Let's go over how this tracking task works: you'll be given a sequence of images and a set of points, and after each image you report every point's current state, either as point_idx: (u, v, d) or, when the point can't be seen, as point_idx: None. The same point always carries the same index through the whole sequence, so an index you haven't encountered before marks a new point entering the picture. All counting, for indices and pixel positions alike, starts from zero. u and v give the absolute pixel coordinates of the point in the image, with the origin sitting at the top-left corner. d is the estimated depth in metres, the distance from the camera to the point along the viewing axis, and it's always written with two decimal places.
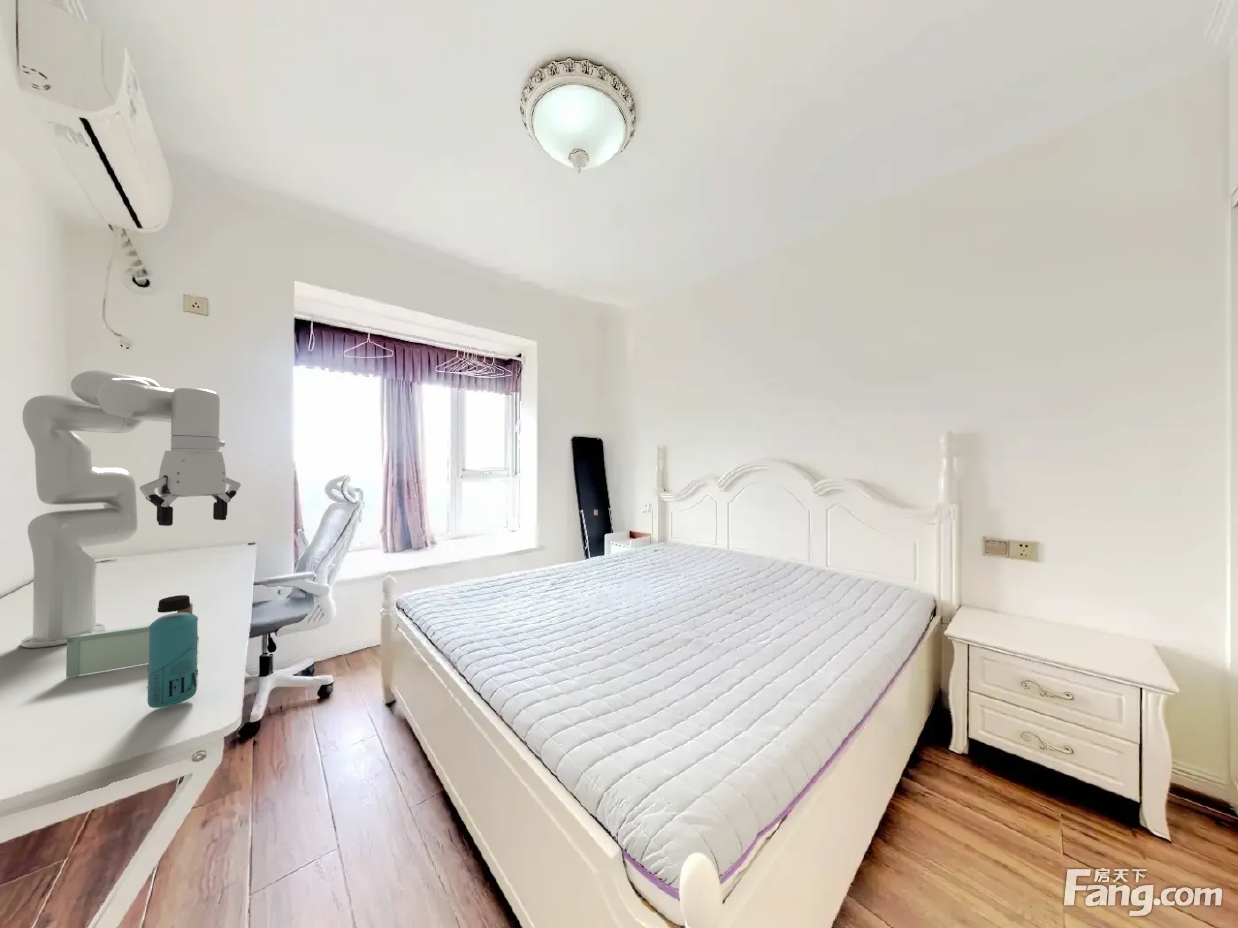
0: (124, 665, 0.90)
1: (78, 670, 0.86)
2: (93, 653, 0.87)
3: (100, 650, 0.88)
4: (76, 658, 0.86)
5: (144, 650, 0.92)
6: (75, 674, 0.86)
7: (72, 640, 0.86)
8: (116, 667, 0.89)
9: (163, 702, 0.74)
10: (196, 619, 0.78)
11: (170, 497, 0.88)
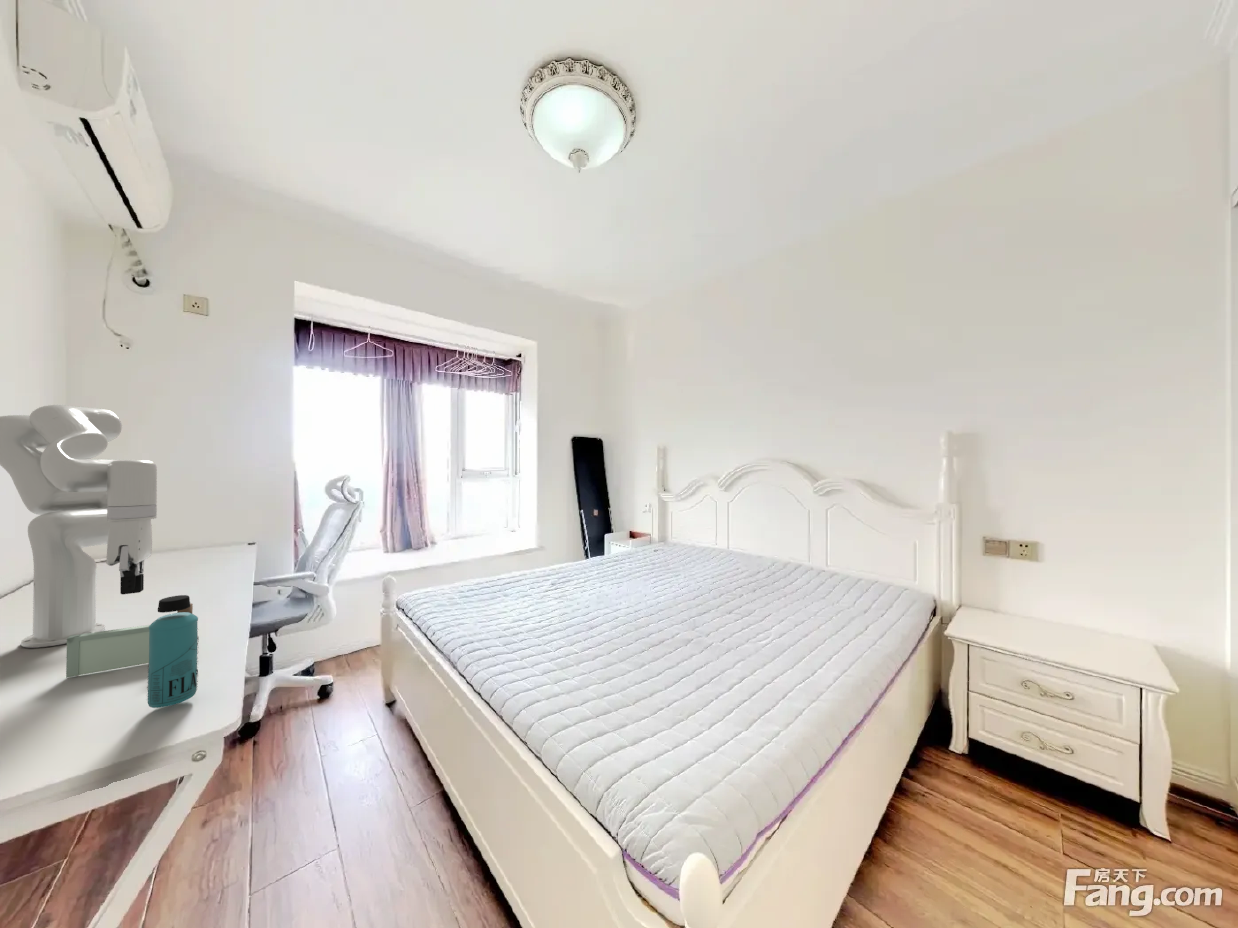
0: (124, 665, 0.90)
1: (78, 670, 0.86)
2: (93, 653, 0.87)
3: (100, 650, 0.88)
4: (76, 658, 0.86)
5: (144, 650, 0.92)
6: (75, 674, 0.86)
7: (72, 640, 0.86)
8: (116, 667, 0.89)
9: (163, 702, 0.74)
10: (196, 619, 0.78)
11: (138, 567, 0.97)
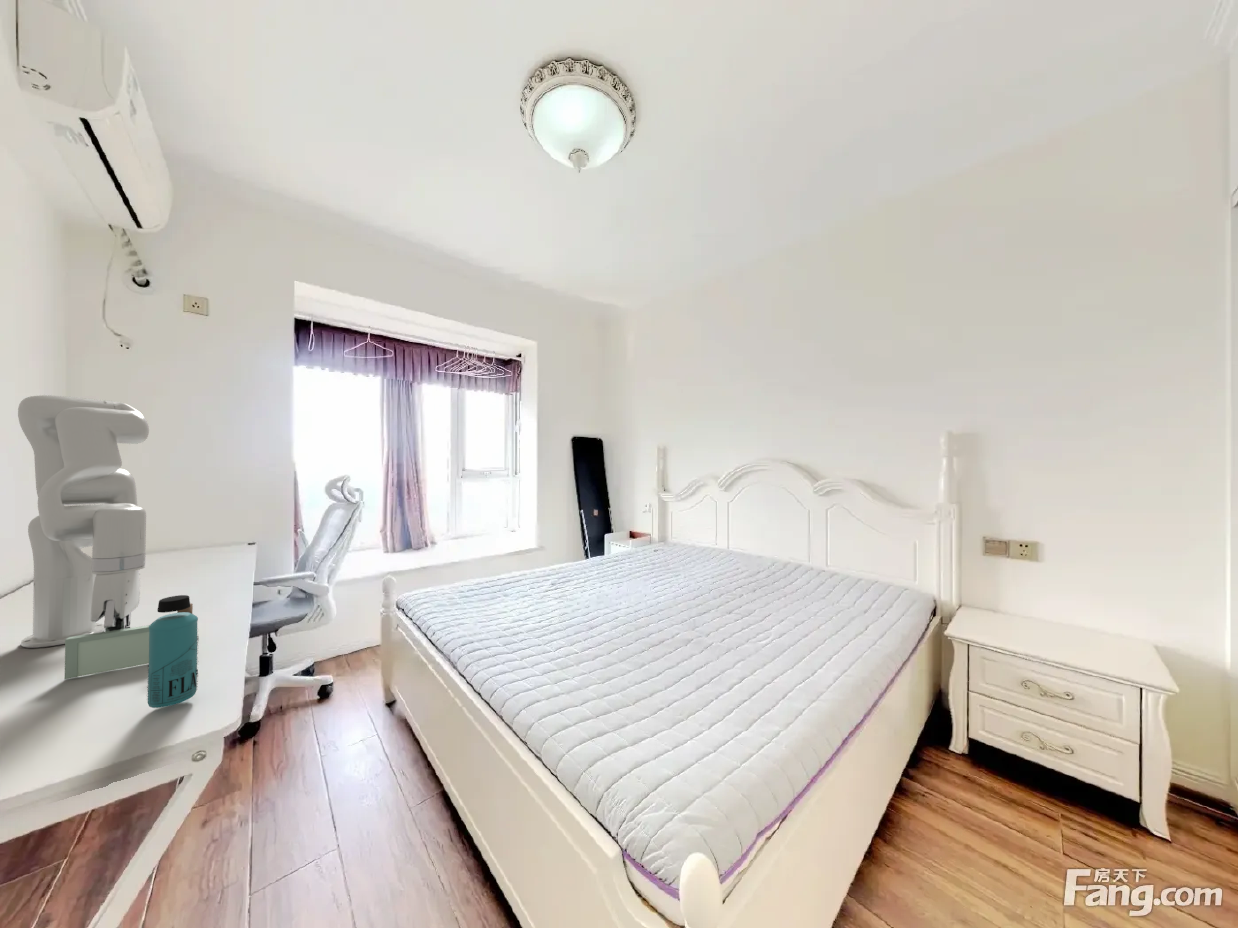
0: (123, 666, 0.90)
1: (77, 671, 0.86)
2: (92, 654, 0.87)
3: (99, 651, 0.87)
4: (75, 659, 0.85)
5: (144, 650, 0.91)
6: (74, 675, 0.85)
7: (71, 641, 0.85)
8: (115, 668, 0.89)
9: (163, 702, 0.74)
10: (196, 619, 0.78)
11: (124, 621, 0.91)
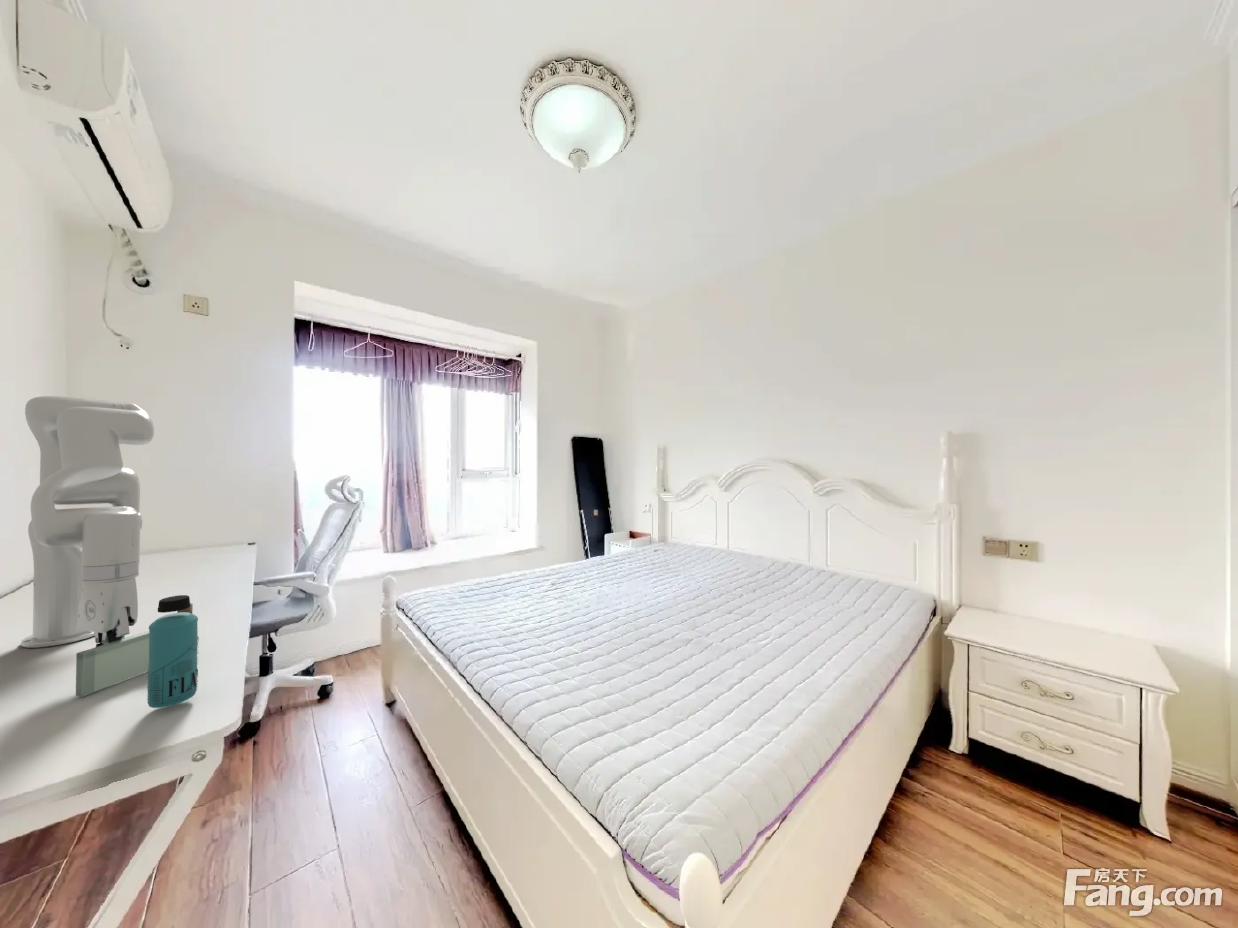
0: (135, 673, 0.87)
1: (93, 686, 0.80)
2: (107, 666, 0.82)
3: (113, 661, 0.83)
4: (92, 674, 0.80)
5: None
6: (91, 691, 0.80)
7: (88, 655, 0.79)
8: (128, 677, 0.85)
9: (163, 702, 0.74)
10: (196, 619, 0.78)
11: None
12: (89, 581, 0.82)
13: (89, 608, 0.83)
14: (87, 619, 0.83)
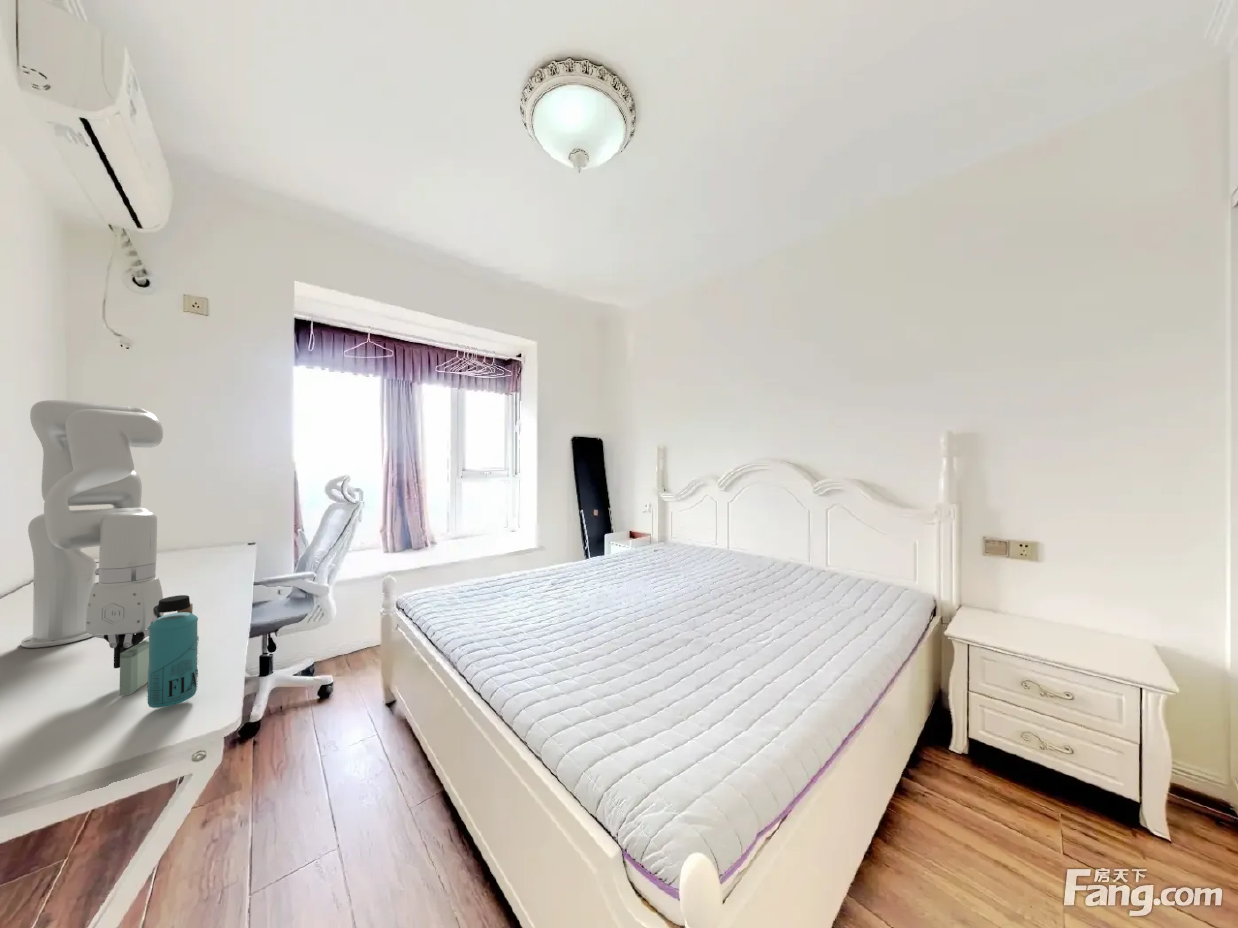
0: None
1: (136, 684, 0.81)
2: (143, 665, 0.83)
3: (147, 660, 0.84)
4: (136, 672, 0.81)
5: None
6: (135, 689, 0.81)
7: (134, 653, 0.80)
8: None
9: (163, 702, 0.74)
10: (196, 619, 0.78)
11: None
12: (118, 583, 0.81)
13: (112, 611, 0.82)
14: (109, 623, 0.81)
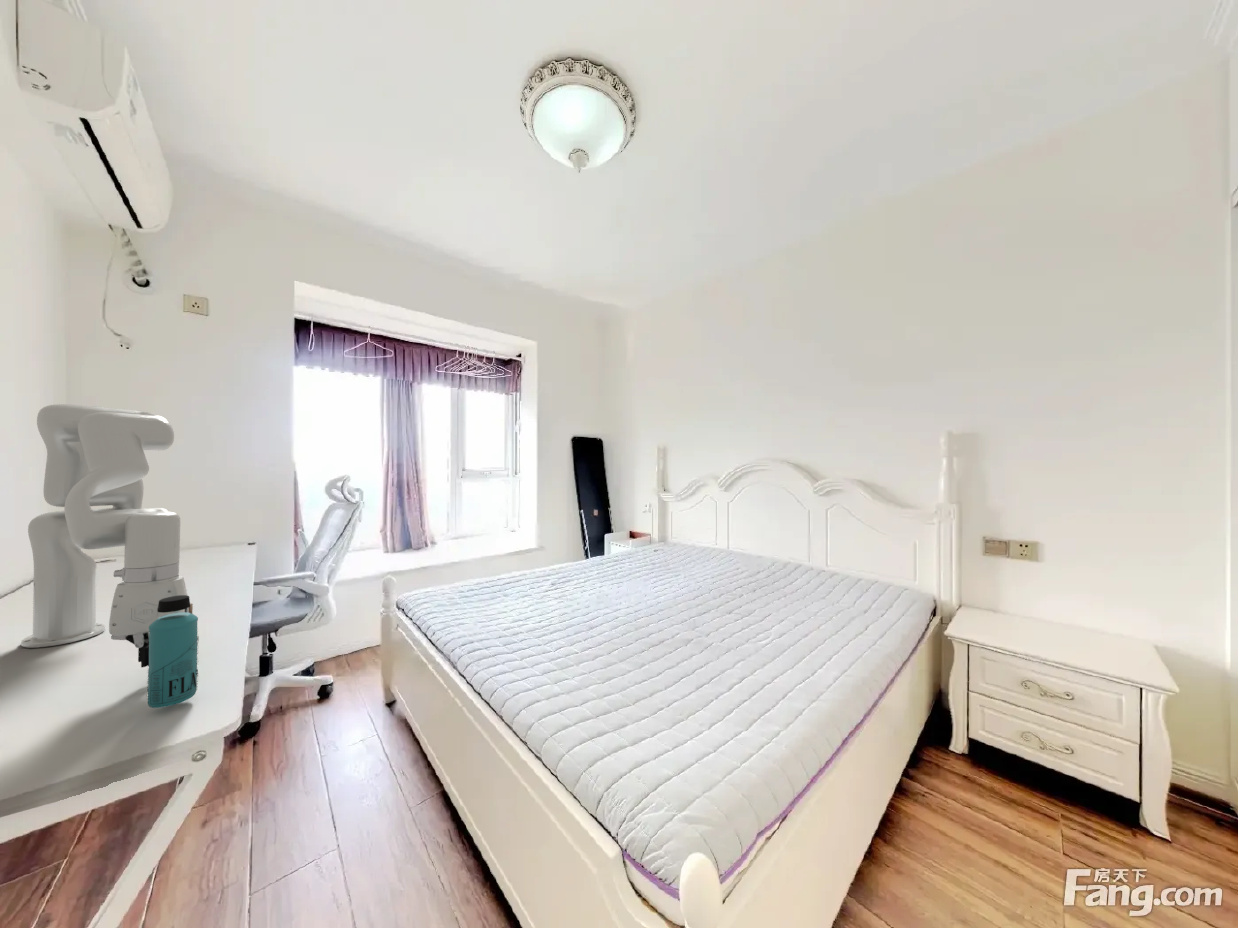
0: None
1: None
2: None
3: None
4: None
5: None
6: None
7: None
8: None
9: (163, 702, 0.74)
10: (196, 619, 0.78)
11: None
12: (153, 581, 0.83)
13: (143, 610, 0.83)
14: (140, 622, 0.82)
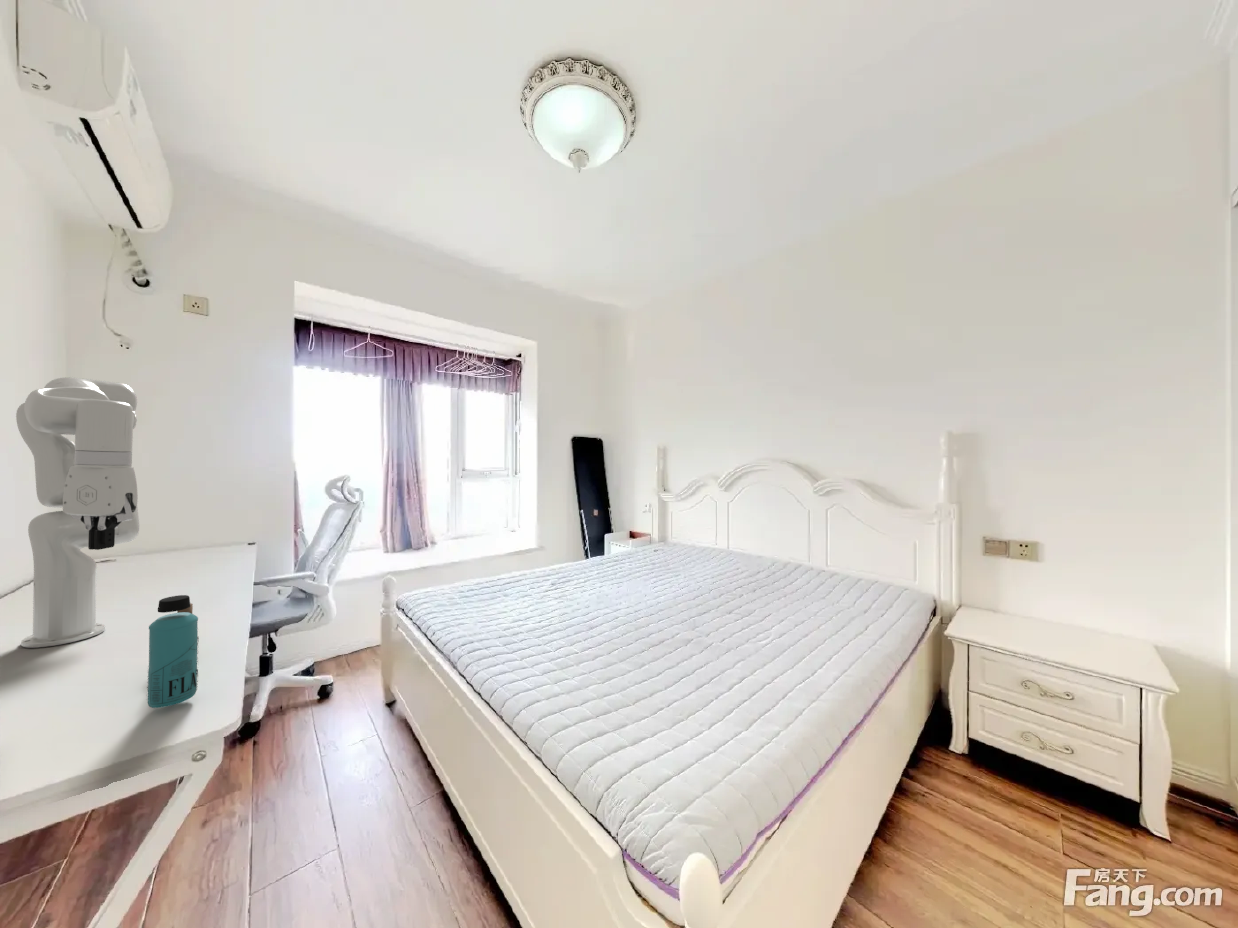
0: None
1: None
2: None
3: None
4: None
5: None
6: None
7: None
8: None
9: (163, 702, 0.74)
10: (196, 619, 0.78)
11: None
12: (91, 465, 0.84)
13: (86, 493, 0.84)
14: (83, 504, 0.84)
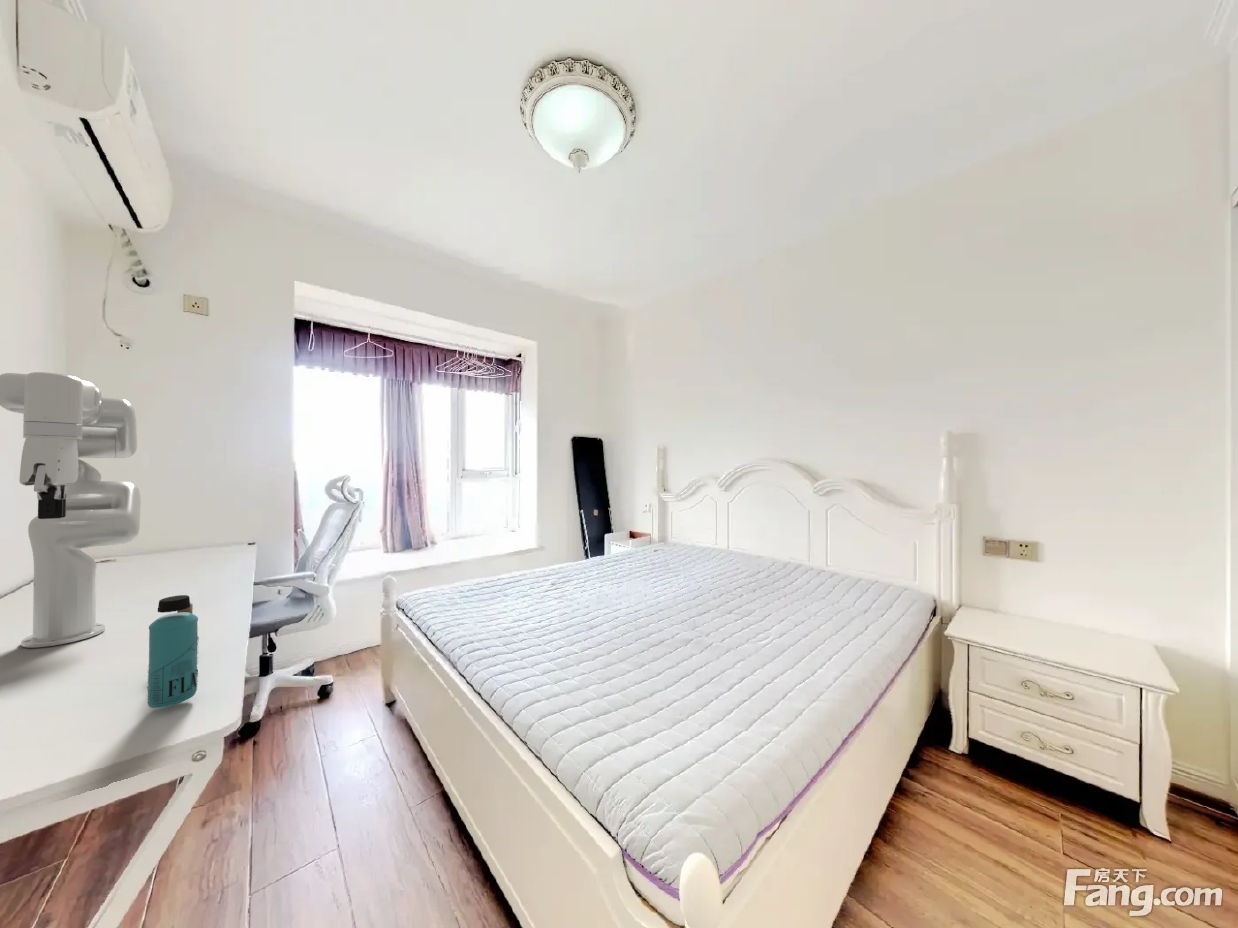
0: None
1: None
2: None
3: None
4: None
5: None
6: None
7: None
8: None
9: (163, 702, 0.74)
10: (196, 619, 0.78)
11: (58, 490, 0.89)
12: (23, 435, 0.86)
13: None
14: None
